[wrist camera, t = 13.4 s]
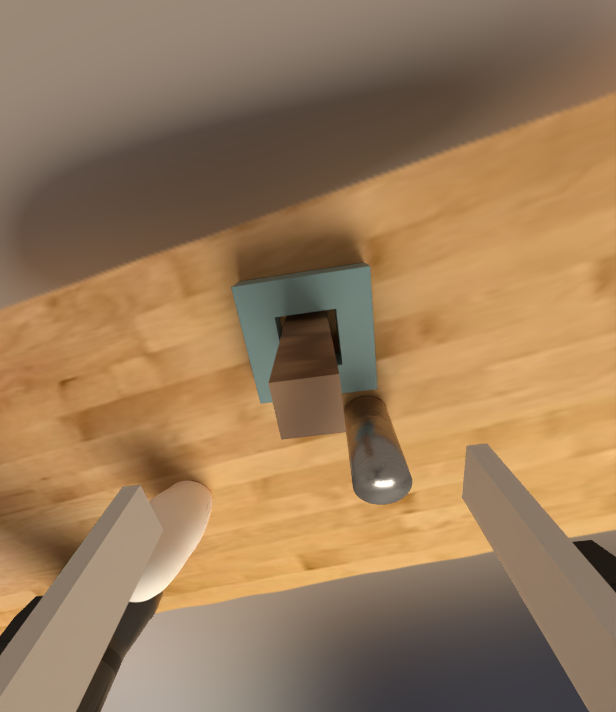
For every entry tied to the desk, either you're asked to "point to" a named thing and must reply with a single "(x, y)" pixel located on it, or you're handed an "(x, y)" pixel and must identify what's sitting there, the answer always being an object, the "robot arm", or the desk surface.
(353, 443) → the round bit
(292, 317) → the square bit
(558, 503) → the desk surface
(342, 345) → the socket block
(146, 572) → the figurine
